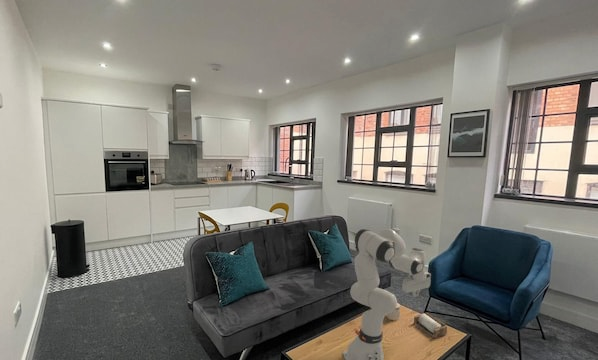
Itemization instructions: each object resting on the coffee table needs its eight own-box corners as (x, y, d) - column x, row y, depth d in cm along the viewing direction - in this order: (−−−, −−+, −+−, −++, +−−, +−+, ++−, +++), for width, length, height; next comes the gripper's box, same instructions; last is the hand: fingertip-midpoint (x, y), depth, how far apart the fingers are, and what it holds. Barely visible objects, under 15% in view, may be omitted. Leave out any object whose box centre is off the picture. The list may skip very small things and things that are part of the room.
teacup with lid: (402, 320, 190) (402, 304, 189) (388, 321, 189) (389, 304, 188) (394, 310, 202) (395, 295, 201) (382, 311, 201) (382, 295, 200)
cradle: (435, 338, 172) (435, 329, 171) (413, 323, 187) (414, 315, 186) (446, 334, 176) (447, 325, 176) (424, 320, 191) (425, 311, 190)
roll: (432, 326, 174) (433, 336, 175) (441, 322, 176) (442, 332, 177) (417, 315, 185) (418, 325, 186) (426, 311, 187) (427, 321, 189)
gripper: (408, 279, 165) (406, 302, 167) (432, 273, 174) (431, 295, 175) (400, 275, 171) (398, 297, 172) (424, 270, 180) (423, 290, 181)
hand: (415, 296), depth 174 cm, fingers closed
